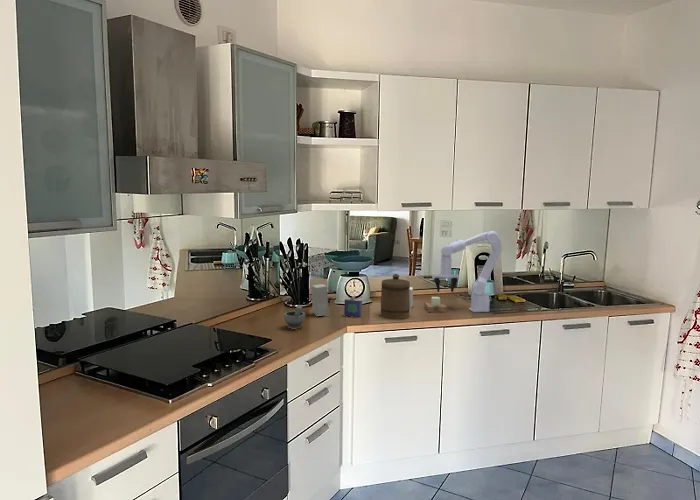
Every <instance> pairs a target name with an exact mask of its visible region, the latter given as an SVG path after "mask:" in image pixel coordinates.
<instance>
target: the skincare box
mask: <svg viewBox="0 0 700 500" xmlns="http://www.w3.org/2000/svg"><path fill="white" fill-rule="evenodd" d="M328 296H329V295H328V286H327V285H326V284H323V283H319V284H311V302H312V314H313V313H314V314H315V315H317V316H323V315H329V313H330V312H329V299H328V298H329V297H328ZM314 314H313V315H314ZM315 315H314V316H315ZM317 316H316V317H317ZM329 316H330V315H329ZM323 317H324V316H323Z"/></svg>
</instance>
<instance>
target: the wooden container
mask: <svg viewBox="0 0 700 500" xmlns="http://www.w3.org/2000/svg"><path fill="white" fill-rule="evenodd" d="M410 287H411V284H410V281H409V280H406V279H402V278H401V279H400V275H399V274H398V273H394V274H392V278H387V279H382V280H381V288H380V291H381V292H380V316H381V317H382V318H386V319H389V320H403V319H406V318H409V317H410Z"/></svg>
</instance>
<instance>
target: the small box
mask: <svg viewBox="0 0 700 500" xmlns="http://www.w3.org/2000/svg"><path fill="white" fill-rule="evenodd" d="M413 288H414V287H413V286H412V287H411V286H410V308H411V309H412V308H413V307H414V306H413V305H414V302H413V301H414V289H413ZM410 308H409V309H410Z"/></svg>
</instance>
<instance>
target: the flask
mask: <svg viewBox="0 0 700 500" xmlns="http://www.w3.org/2000/svg"><path fill="white" fill-rule="evenodd" d="M355 298H356V296H355V295H353V296H351V297H347V298H344V313H343V314H344V315H345V316H344V317H346V316H353V317H352V318H362V317H363V300H362V299H355Z"/></svg>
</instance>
